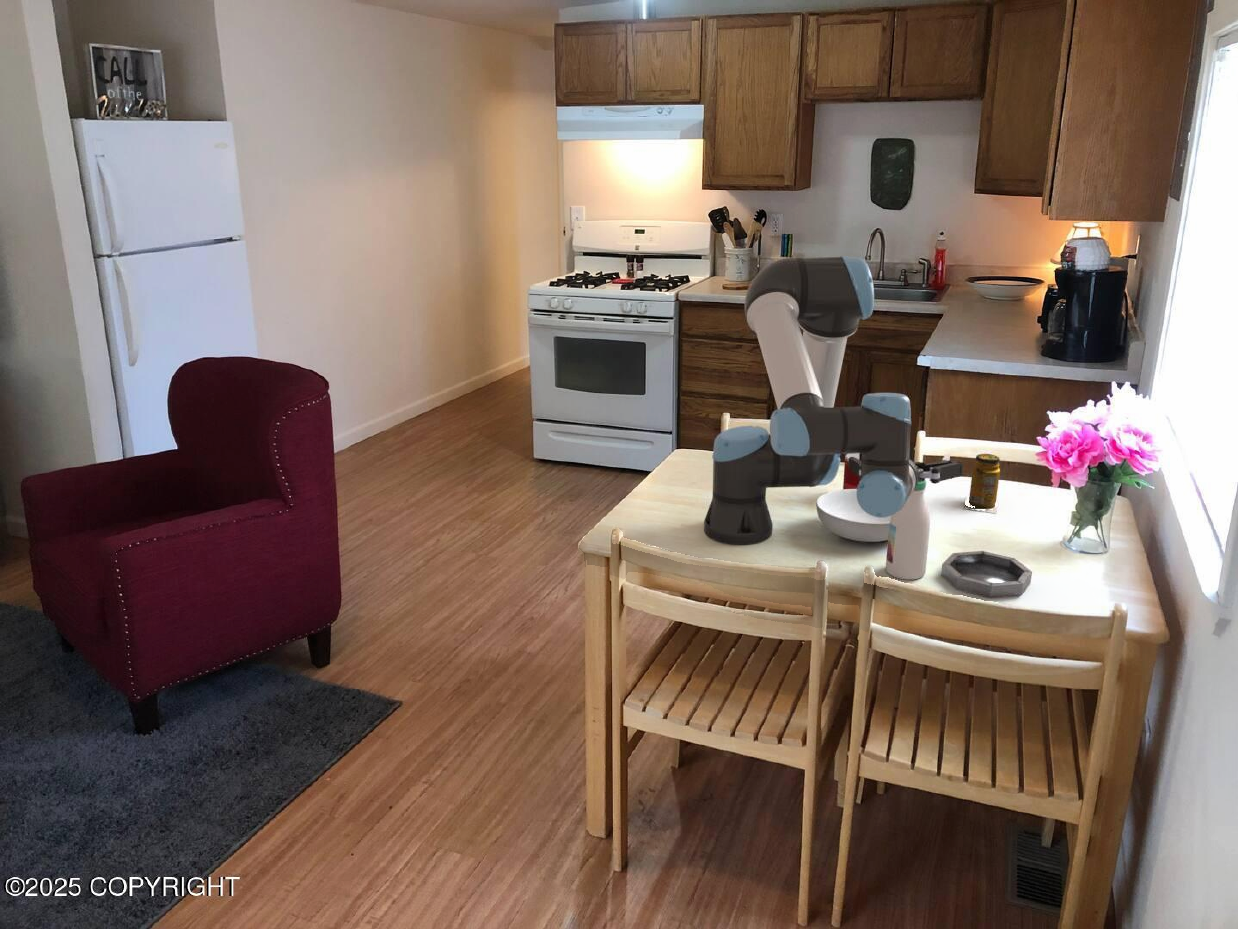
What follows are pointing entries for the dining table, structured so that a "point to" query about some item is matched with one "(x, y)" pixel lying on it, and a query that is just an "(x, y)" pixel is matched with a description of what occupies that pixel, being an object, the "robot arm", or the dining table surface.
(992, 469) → the condiment
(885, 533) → the serving bowl
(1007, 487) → the dining table surface
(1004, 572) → the grey octagonal tray
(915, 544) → the milk bottle
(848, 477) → the canned food
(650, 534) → the dining table surface
